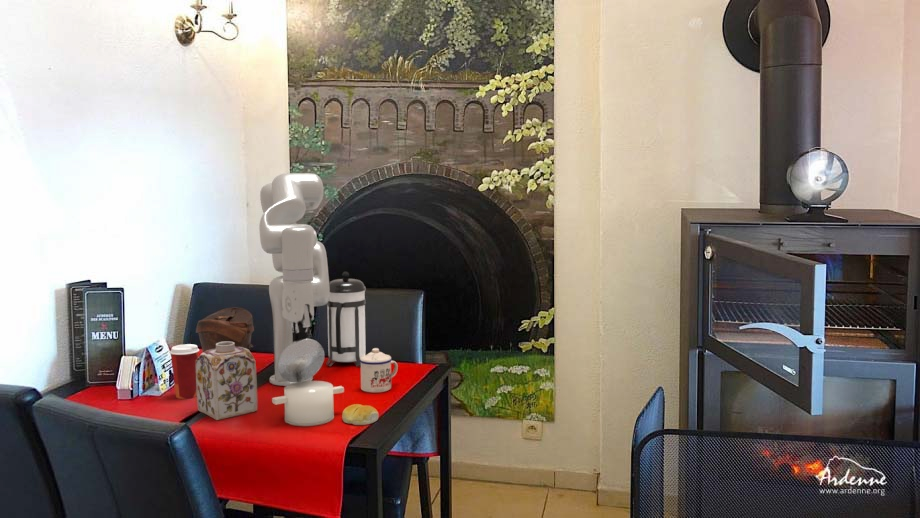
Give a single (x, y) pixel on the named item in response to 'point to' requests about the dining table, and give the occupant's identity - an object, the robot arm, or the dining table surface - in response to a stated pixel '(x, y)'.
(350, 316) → the coffee press
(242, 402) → the decorative jar
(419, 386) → the dining table surface
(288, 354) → the lid
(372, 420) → the bread roll
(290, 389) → the pot
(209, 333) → the case
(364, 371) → the teacup with lid
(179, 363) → the paper cup
